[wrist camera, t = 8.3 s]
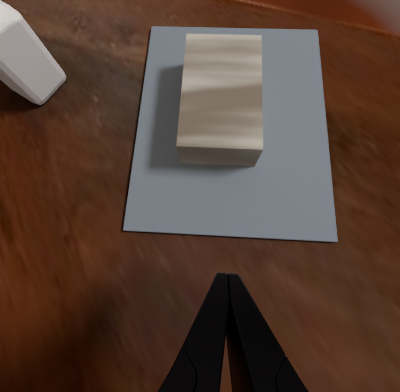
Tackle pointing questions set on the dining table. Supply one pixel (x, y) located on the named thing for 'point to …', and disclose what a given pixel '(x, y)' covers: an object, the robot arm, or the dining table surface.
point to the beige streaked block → (221, 100)
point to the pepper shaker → (26, 59)
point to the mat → (237, 175)
